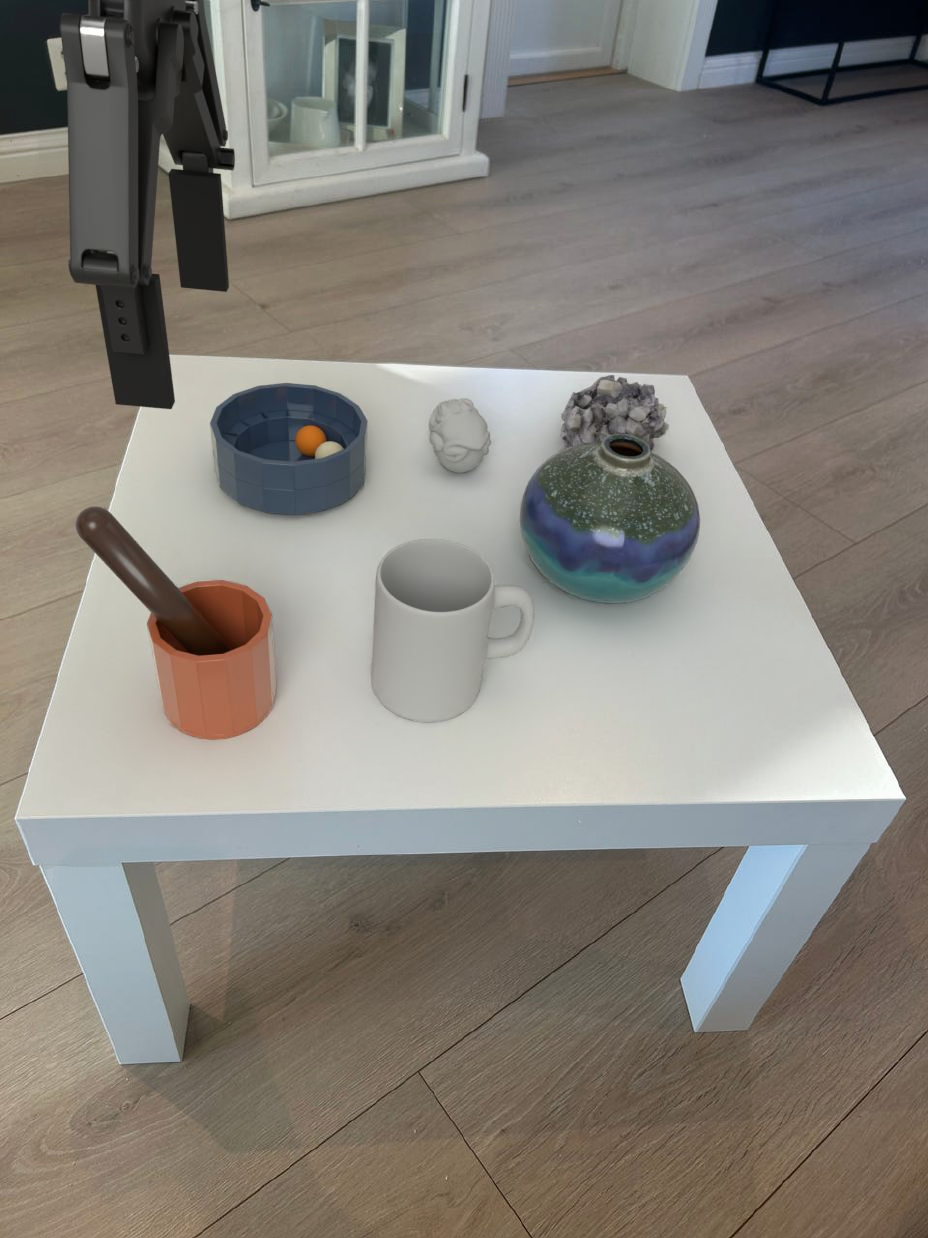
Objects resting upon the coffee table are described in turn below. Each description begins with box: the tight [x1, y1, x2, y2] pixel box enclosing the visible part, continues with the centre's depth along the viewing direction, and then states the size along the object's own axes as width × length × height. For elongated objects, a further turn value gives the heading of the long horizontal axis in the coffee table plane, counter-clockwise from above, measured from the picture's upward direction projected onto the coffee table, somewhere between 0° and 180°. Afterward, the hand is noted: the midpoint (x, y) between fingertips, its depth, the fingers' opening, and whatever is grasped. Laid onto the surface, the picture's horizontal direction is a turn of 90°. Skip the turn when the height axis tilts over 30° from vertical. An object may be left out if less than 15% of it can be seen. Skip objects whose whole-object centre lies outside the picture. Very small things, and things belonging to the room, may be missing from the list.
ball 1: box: [295, 425, 326, 456], centre depth 95 cm, size 3×3×3 cm
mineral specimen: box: [559, 374, 670, 452], centre depth 100 cm, size 12×9×10 cm
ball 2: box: [315, 441, 344, 459], centre depth 93 cm, size 3×3×3 cm
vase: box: [519, 434, 701, 604], centre depth 83 cm, size 15×15×13 cm
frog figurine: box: [428, 397, 492, 474], centre depth 95 cm, size 6×7×7 cm
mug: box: [370, 538, 535, 723], centre depth 72 cm, size 12×8×11 cm
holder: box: [146, 579, 277, 740], centre depth 69 cm, size 8×8×8 cm
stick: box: [75, 505, 233, 656], centre depth 66 cm, size 2×2×18 cm
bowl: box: [209, 382, 369, 516], centre depth 92 cm, size 14×14×6 cm
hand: (178, 340), depth 53 cm, fingers open, 13 cm apart
